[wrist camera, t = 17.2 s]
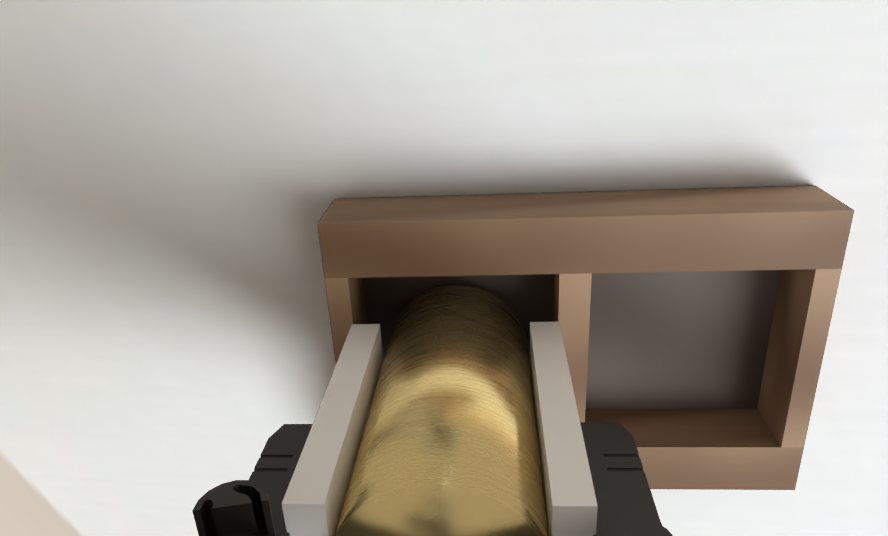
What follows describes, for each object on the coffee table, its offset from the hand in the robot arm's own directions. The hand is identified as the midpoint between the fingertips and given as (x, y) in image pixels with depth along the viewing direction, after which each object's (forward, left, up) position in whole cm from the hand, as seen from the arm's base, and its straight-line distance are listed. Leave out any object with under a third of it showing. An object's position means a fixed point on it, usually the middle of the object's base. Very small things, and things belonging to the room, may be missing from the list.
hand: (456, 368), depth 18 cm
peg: (0, 0, -1) cm, 1 cm away
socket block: (0, +3, -2) cm, 4 cm away
